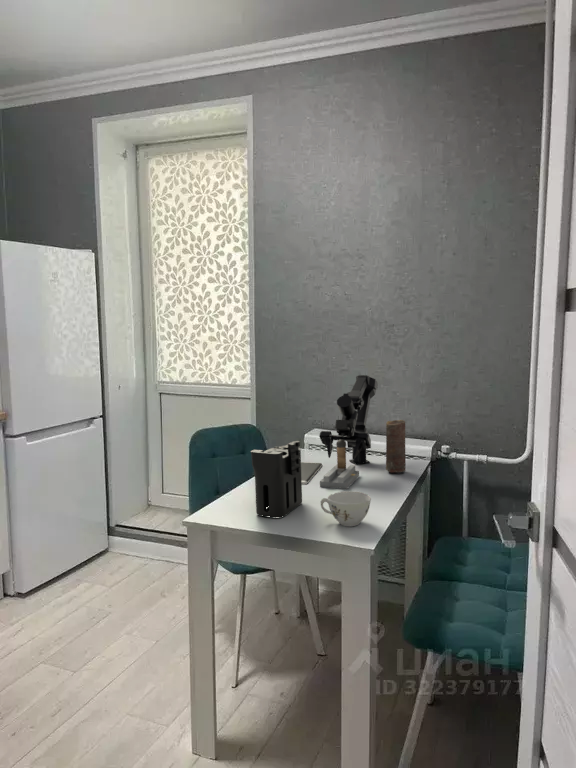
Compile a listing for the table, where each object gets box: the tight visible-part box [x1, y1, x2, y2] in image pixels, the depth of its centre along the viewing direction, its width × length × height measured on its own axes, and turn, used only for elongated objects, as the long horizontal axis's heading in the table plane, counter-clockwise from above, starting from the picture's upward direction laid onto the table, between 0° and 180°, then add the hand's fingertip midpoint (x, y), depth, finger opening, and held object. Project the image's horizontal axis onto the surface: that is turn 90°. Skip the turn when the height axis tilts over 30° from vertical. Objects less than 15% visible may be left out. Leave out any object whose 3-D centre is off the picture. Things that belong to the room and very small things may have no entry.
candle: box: [385, 419, 406, 474], centre depth 221 cm, size 8×7×20 cm
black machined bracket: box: [250, 440, 303, 518], centre depth 183 cm, size 12×21×22 cm, turn 154°
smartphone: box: [301, 461, 323, 485], centre depth 225 cm, size 13×27×2 cm, turn 164°
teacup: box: [320, 490, 372, 527], centre depth 170 cm, size 15×12×8 cm
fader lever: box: [335, 440, 347, 475], centre depth 214 cm, size 4×4×13 cm
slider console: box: [319, 464, 360, 490], centre depth 212 cm, size 17×10×4 cm, turn 159°
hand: (341, 458), depth 213 cm, fingers open, 9 cm apart
